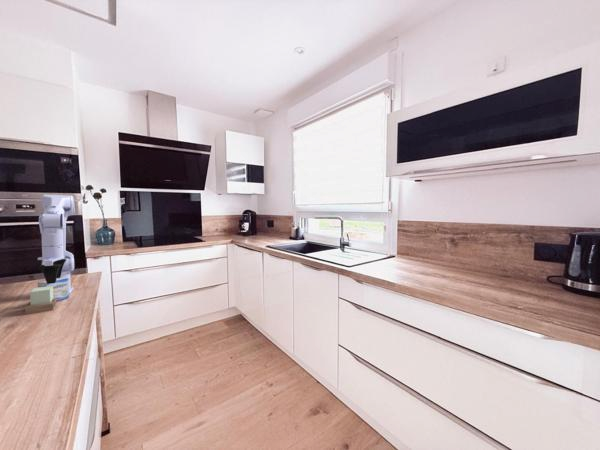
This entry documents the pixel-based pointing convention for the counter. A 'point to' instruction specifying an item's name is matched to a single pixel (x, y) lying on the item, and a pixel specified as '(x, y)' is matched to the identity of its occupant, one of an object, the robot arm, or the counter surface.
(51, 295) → the sage cube
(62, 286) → the medicine box
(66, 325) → the counter surface
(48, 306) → the walnut block
